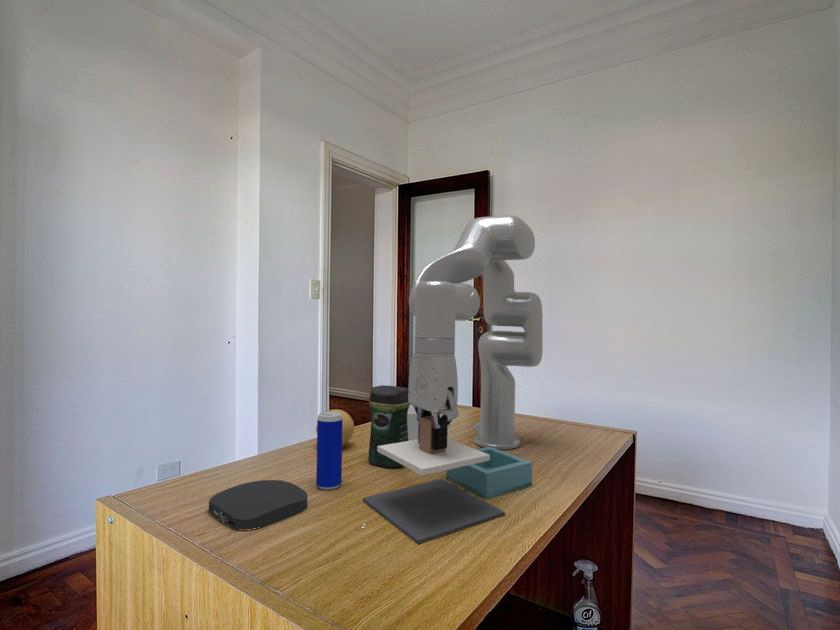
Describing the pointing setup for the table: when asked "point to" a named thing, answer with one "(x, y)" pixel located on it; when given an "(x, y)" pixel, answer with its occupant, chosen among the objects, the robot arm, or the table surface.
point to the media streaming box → (257, 503)
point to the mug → (412, 424)
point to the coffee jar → (387, 421)
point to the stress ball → (345, 426)
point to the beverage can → (329, 450)
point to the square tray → (493, 474)
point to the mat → (432, 509)
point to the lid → (431, 452)
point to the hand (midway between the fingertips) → (432, 445)
